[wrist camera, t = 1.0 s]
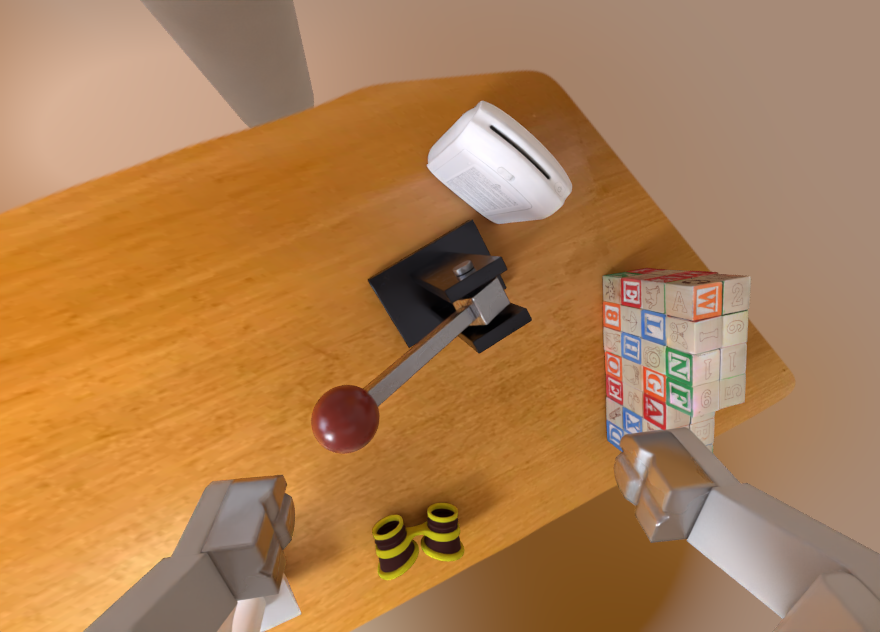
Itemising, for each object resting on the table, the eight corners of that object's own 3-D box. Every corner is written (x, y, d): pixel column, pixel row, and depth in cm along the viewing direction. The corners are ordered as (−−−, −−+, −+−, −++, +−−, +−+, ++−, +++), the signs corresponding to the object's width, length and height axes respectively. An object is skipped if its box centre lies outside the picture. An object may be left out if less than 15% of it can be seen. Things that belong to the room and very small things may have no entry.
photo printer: (520, 196, 39) (595, 177, 28) (497, 230, 40) (562, 225, 28) (443, 129, 36) (490, 75, 25) (418, 167, 36) (453, 130, 25)
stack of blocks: (647, 429, 49) (741, 487, 38) (605, 440, 48) (689, 504, 36) (647, 266, 45) (754, 275, 33) (601, 274, 43) (696, 285, 32)
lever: (326, 458, 22) (350, 477, 19) (290, 410, 21) (309, 422, 18) (486, 314, 29) (521, 311, 26) (465, 274, 28) (499, 266, 25)
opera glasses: (451, 493, 45) (463, 514, 40) (458, 536, 45) (470, 563, 40) (370, 514, 43) (371, 539, 38) (377, 560, 43) (379, 590, 38)
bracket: (407, 345, 39) (441, 402, 25) (367, 279, 37) (380, 301, 23) (502, 286, 41) (585, 310, 27) (469, 219, 39) (540, 206, 24)
